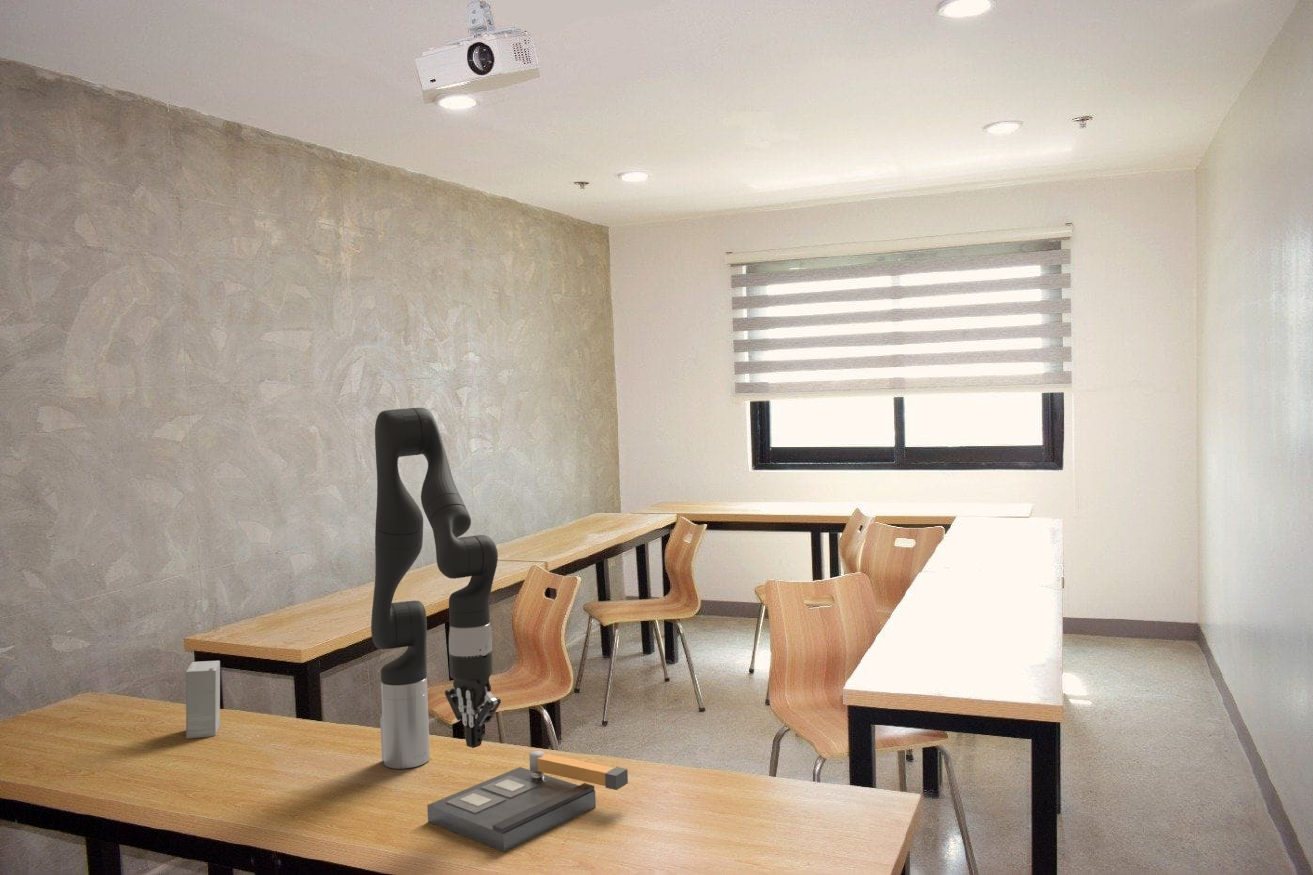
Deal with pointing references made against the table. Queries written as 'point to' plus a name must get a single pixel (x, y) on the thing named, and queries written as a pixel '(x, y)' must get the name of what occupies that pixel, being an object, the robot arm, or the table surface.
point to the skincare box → (202, 699)
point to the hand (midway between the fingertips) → (474, 746)
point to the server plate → (511, 808)
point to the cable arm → (578, 770)
